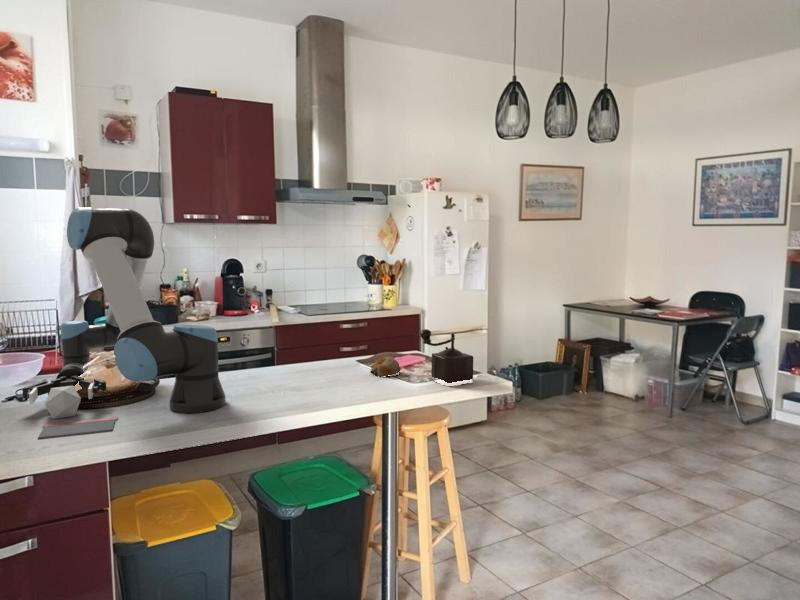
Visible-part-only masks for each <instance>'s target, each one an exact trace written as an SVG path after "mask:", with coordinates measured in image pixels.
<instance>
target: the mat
mask: <svg viewBox="0 0 800 600" xmlns="http://www.w3.org/2000/svg"><path fill="white" fill-rule="evenodd" d="M115 423H116V420H108V421H98V422H88V423H79V424H69V425H59V426H49V427H44V428H43V427H42V428H43V429H42V430H41V432H40V433H39V434H38V436H37V439H38V440H41V439H48V438H49V439H51V438H60V437H69V436H77V435H85V434H95V433H105V432H112V431H114V425H115Z"/></svg>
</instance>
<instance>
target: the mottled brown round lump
mask: <svg viewBox="0 0 800 600" xmlns="http://www.w3.org/2000/svg"><path fill="white" fill-rule="evenodd" d="M400 367H401V366H400V364H399V362H398V361H397V360H396V359H395V358H393V357H390V356H383V357H380V358H378V359H376V360H375V361H374V363H372V365H371V366H370V368H371V370H370V373H371V374H372V376H374V375H375V376H374V377H378V376H388V375H392V374H396V373H398V372H399V371H401V368H400ZM399 373H400V372H399Z"/></svg>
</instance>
